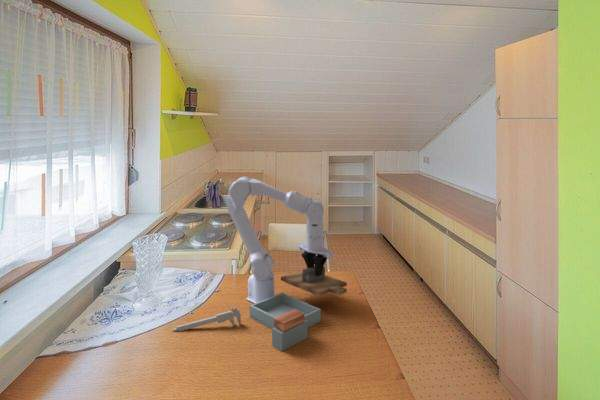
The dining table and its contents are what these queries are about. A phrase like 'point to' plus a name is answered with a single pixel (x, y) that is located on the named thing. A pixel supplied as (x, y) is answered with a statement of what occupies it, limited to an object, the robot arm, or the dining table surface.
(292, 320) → the salmon pink block
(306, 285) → the lid
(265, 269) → the robot arm
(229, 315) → the caliper
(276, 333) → the blue grey tray
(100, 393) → the dining table surface
